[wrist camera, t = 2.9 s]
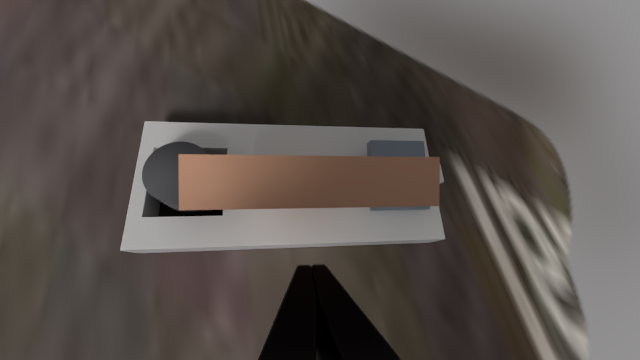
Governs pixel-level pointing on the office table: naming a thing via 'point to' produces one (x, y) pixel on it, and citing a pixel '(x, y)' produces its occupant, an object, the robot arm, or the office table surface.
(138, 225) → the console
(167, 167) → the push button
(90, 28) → the office table surface
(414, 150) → the rocker switch
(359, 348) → the robot arm
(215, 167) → the paddle lever
